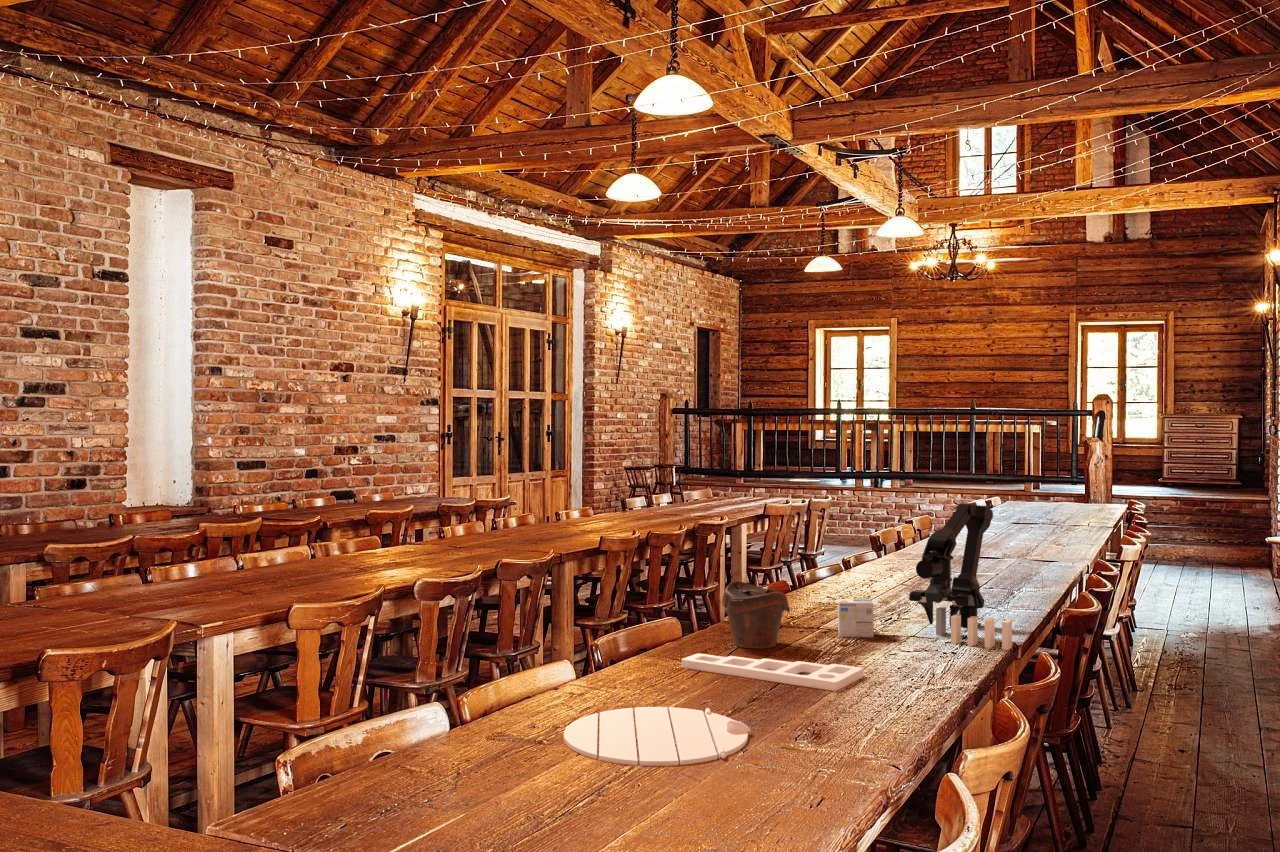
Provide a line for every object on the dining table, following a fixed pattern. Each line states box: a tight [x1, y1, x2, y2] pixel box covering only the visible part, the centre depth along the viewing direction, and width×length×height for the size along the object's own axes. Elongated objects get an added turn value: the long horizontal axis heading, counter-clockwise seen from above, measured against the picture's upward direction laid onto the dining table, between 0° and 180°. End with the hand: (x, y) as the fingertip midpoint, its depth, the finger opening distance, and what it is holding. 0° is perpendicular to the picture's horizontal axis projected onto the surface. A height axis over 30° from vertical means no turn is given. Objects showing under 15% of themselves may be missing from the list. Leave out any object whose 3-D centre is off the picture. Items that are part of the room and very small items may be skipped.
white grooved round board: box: [563, 706, 752, 767], centre depth 230 cm, size 40×39×3 cm
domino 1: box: [935, 606, 947, 636], centre depth 334 cm, size 4×2×8 cm, turn 145°
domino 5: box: [1001, 619, 1013, 651], centre depth 313 cm, size 4×2×8 cm, turn 145°
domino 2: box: [950, 613, 962, 645], centre depth 321 cm, size 4×2×8 cm, turn 145°
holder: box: [681, 652, 865, 692], centre depth 286 cm, size 45×18×3 cm, turn 56°
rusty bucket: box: [721, 581, 791, 650], centre depth 319 cm, size 18×20×18 cm
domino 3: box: [967, 615, 979, 647], centre depth 318 cm, size 4×2×8 cm, turn 145°
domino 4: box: [984, 617, 996, 649], centre depth 316 cm, size 4×2×8 cm, turn 145°
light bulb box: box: [837, 598, 875, 638], centre depth 332 cm, size 11×7×11 cm, turn 84°
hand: (941, 625), depth 334 cm, fingers open, 6 cm apart
